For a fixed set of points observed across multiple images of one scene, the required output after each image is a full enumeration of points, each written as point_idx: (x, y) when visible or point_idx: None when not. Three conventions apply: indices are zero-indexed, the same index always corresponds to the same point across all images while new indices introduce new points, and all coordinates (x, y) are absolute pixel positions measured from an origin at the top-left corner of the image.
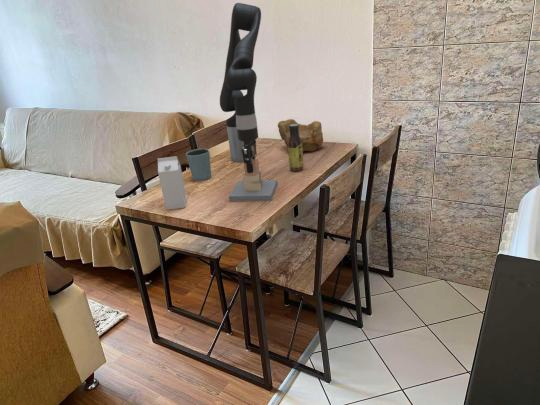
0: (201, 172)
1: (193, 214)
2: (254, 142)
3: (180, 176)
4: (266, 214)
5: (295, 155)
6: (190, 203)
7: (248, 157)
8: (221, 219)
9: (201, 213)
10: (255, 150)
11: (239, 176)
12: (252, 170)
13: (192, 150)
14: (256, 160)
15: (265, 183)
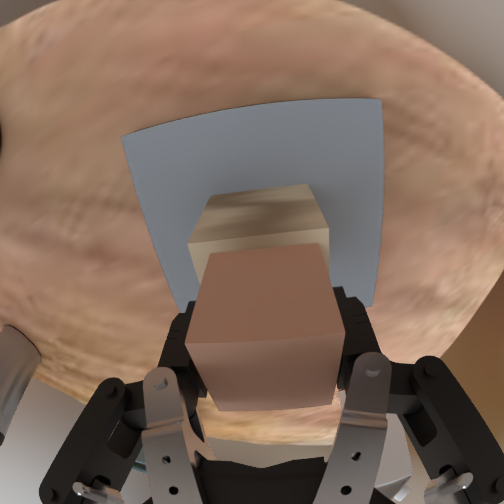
0: None
1: (434, 341)
2: (72, 496)
3: (387, 457)
4: (488, 110)
5: None
6: None
7: (470, 417)
8: (489, 259)
9: (436, 327)
10: (164, 453)
11: (107, 328)
12: (345, 298)
13: (141, 471)
14: (248, 345)
15: (186, 186)
